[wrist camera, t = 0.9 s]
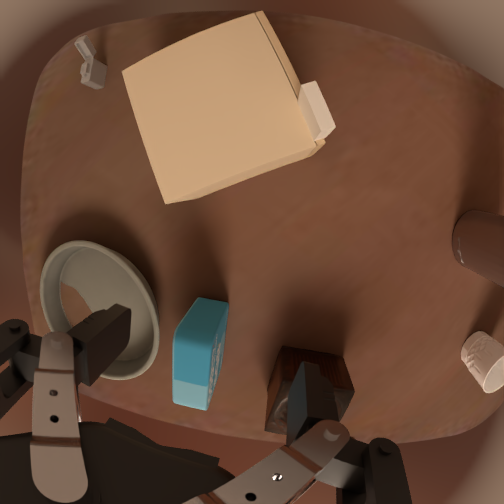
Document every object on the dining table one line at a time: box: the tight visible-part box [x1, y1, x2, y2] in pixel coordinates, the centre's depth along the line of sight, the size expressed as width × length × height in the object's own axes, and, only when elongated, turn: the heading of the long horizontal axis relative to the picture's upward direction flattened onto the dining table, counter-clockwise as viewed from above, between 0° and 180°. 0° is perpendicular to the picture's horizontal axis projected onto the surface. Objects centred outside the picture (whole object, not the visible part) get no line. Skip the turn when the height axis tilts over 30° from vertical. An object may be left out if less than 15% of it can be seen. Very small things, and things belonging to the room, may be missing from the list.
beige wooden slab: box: [255, 11, 336, 158], centre depth 27 cm, size 1×16×17 cm, turn 21°
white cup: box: [461, 331, 504, 393], centre depth 35 cm, size 8×8×10 cm
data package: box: [172, 297, 229, 410], centre depth 37 cm, size 12×4×12 cm, turn 172°
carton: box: [122, 13, 316, 204], centre depth 30 cm, size 15×16×12 cm
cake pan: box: [40, 240, 159, 380], centre depth 42 cm, size 25×25×4 cm
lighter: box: [75, 35, 107, 89], centre depth 32 cm, size 7×2×8 cm, turn 178°
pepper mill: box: [265, 346, 356, 440], centre depth 35 cm, size 16×11×18 cm
